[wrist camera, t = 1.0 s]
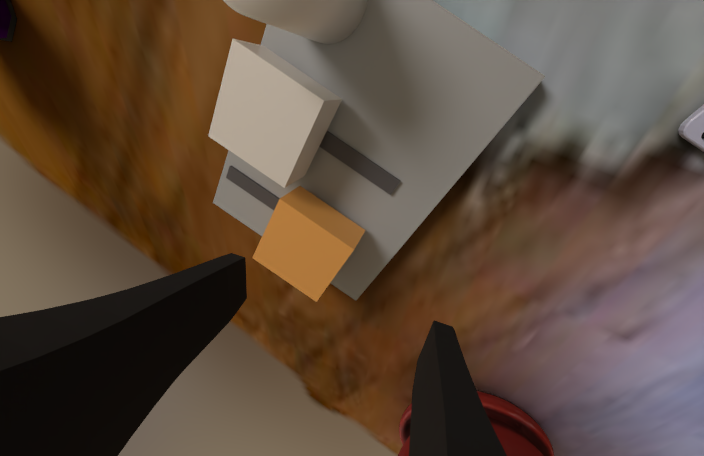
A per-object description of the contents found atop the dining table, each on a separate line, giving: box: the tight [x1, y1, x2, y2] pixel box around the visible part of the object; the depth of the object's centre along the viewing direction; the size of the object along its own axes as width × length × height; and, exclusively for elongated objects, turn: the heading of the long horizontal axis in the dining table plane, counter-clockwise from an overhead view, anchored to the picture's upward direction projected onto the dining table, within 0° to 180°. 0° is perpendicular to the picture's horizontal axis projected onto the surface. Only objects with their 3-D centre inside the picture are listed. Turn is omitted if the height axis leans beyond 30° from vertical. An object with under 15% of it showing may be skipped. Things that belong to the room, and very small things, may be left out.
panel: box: [213, 0, 545, 300], centre depth 17 cm, size 13×17×1 cm
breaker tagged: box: [253, 186, 365, 302], centre depth 18 cm, size 5×5×2 cm
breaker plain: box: [208, 39, 342, 188], centre depth 15 cm, size 5×5×2 cm
